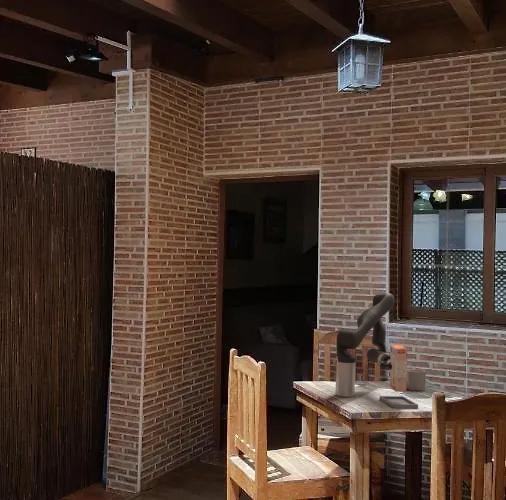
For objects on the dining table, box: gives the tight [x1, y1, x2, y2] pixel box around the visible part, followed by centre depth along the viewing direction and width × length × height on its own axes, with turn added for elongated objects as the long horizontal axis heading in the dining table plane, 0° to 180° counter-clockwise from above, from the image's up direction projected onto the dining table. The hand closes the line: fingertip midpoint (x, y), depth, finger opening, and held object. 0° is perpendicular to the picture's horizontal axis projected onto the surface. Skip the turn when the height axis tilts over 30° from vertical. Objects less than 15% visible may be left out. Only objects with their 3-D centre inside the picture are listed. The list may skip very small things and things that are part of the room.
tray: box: [379, 395, 419, 409], centre depth 327 cm, size 13×20×2 cm, turn 8°
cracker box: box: [389, 344, 408, 393], centre depth 327 cm, size 14×6×21 cm, turn 178°
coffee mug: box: [407, 368, 427, 391], centre depth 370 cm, size 13×10×10 cm
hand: (398, 367), depth 329 cm, fingers closed on cracker box, 6 cm apart
